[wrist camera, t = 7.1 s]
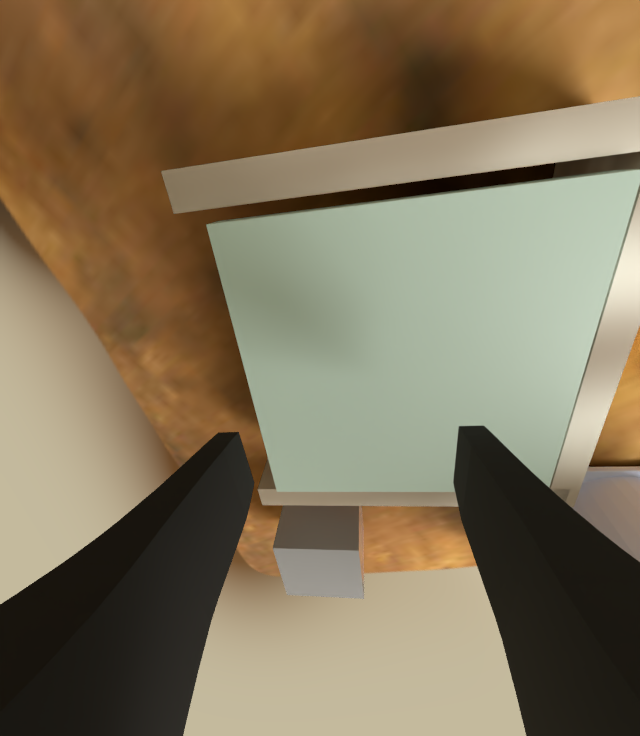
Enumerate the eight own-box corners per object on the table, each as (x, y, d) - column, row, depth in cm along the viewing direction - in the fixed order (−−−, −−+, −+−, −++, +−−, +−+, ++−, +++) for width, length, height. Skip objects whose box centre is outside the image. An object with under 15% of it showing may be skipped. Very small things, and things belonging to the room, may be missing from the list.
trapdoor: (618, 169, 9) (644, 169, 9) (537, 474, 15) (548, 491, 14) (218, 220, 11) (206, 224, 10) (281, 475, 17) (276, 491, 16)
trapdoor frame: (526, 434, 20) (573, 507, 15) (281, 440, 22) (262, 505, 18) (599, 115, 12) (727, 82, 8) (219, 172, 15) (160, 171, 10)
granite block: (363, 527, 26) (364, 598, 21) (299, 526, 26) (287, 594, 22) (359, 480, 23) (358, 550, 19) (288, 481, 24) (272, 548, 20)
